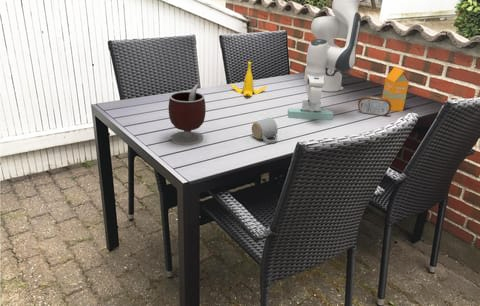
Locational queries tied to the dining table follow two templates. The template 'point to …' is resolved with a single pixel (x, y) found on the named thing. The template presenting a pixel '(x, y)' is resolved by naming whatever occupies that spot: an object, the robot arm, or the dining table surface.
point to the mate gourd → (187, 116)
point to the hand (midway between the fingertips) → (310, 107)
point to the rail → (310, 114)
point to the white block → (307, 105)
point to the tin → (374, 105)
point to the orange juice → (396, 89)
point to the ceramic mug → (265, 130)
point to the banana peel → (248, 84)
